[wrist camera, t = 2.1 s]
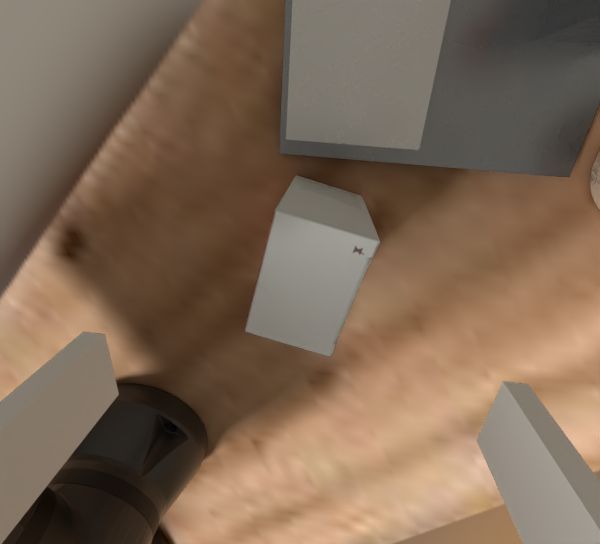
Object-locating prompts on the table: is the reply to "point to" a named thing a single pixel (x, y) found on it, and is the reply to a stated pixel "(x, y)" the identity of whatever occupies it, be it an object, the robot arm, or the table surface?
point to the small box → (312, 266)
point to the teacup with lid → (596, 181)
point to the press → (442, 82)
